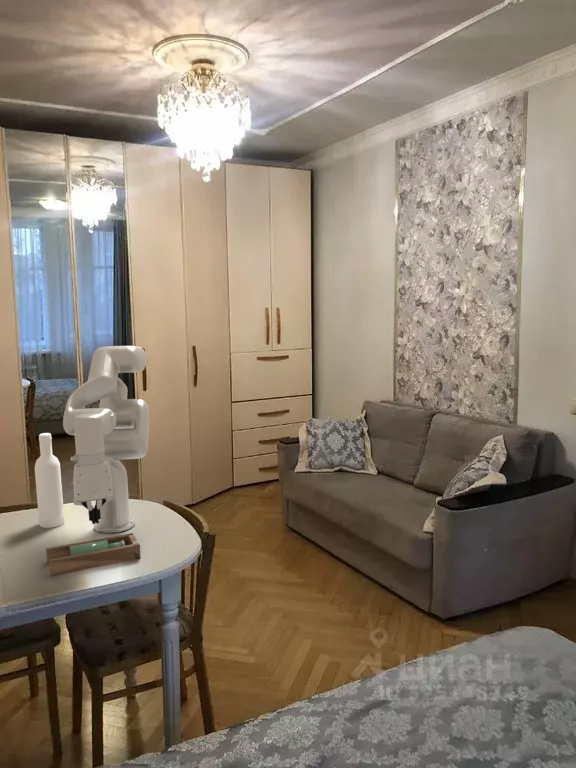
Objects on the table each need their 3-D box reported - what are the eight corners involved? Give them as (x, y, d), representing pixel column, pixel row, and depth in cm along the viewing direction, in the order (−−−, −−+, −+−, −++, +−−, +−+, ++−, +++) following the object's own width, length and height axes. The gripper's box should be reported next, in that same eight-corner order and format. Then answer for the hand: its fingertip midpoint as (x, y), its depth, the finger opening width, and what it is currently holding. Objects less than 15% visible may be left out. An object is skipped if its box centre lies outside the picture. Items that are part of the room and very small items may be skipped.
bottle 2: (69, 545, 178) (121, 535, 184) (70, 563, 178) (123, 553, 184) (70, 547, 174) (124, 537, 180) (72, 566, 173) (126, 555, 180)
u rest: (47, 561, 178) (46, 548, 177) (133, 545, 188) (132, 533, 187) (50, 576, 169) (49, 561, 168) (140, 558, 179) (139, 545, 178)
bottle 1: (56, 517, 213) (49, 430, 208) (69, 522, 208) (62, 433, 203) (34, 524, 207) (26, 434, 202) (47, 530, 202) (39, 438, 197)
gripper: (63, 465, 168) (68, 531, 171) (120, 458, 174) (124, 522, 177) (60, 458, 175) (65, 522, 177) (115, 452, 181) (119, 513, 184)
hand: (95, 522), depth 177 cm, fingers closed
